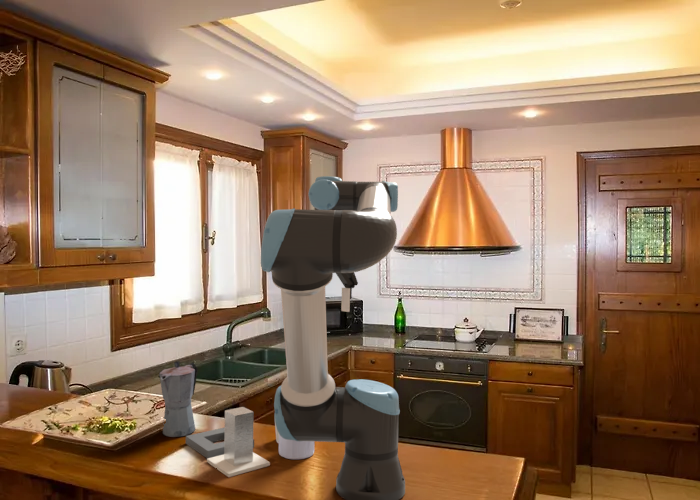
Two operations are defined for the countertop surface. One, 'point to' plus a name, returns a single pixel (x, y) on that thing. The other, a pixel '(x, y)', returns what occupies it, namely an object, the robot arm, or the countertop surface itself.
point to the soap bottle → (295, 448)
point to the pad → (239, 469)
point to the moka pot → (178, 399)
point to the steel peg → (238, 436)
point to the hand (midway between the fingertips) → (326, 313)
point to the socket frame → (208, 442)
